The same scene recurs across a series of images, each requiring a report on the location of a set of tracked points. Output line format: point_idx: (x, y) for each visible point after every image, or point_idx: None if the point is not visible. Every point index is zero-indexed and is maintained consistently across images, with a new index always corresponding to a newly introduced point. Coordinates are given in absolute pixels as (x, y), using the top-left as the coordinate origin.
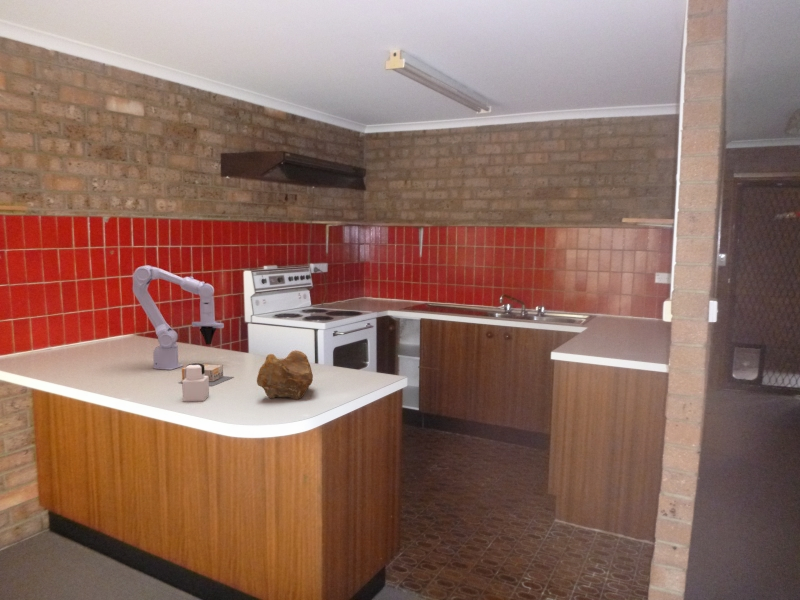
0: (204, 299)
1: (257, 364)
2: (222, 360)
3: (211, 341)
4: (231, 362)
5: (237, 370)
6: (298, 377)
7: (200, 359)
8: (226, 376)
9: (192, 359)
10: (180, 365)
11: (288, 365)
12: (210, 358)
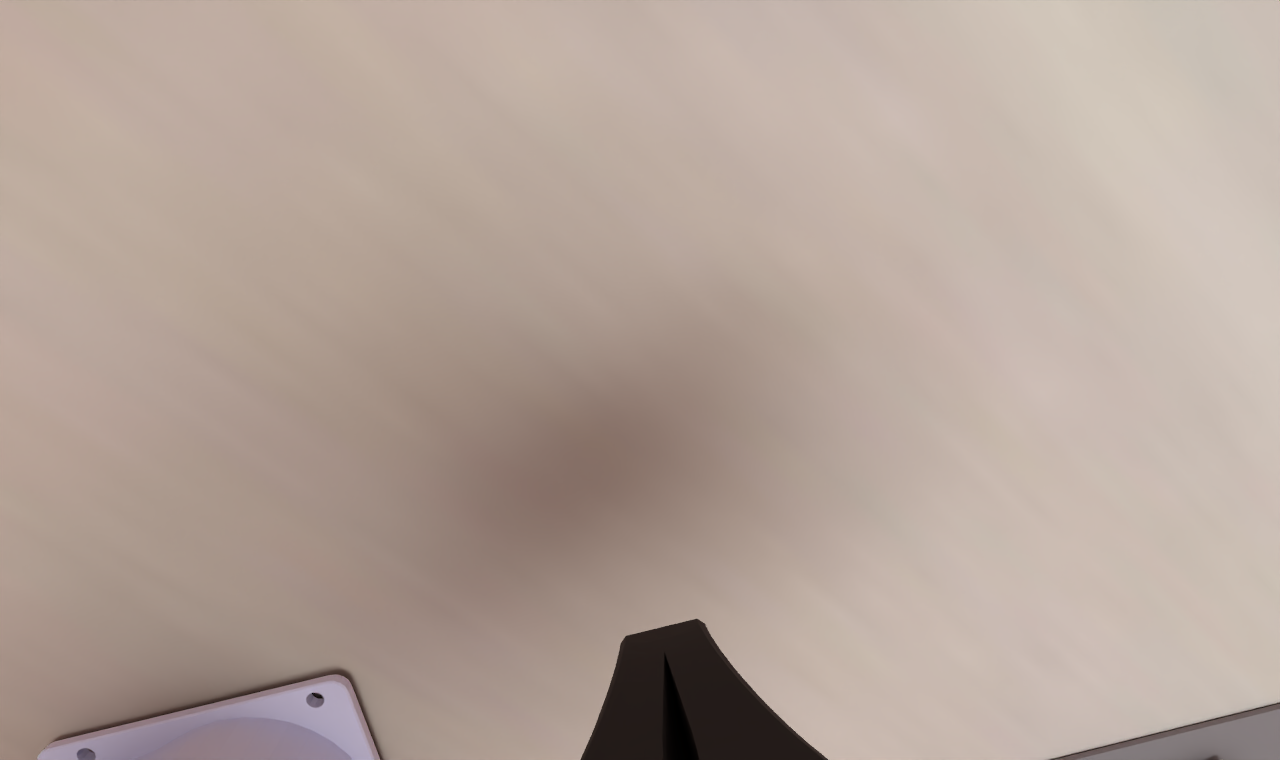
0: None
1: (1211, 17)
2: (503, 97)
3: (717, 655)
4: (748, 131)
5: (1159, 448)
6: None
7: (120, 242)
8: (1238, 725)
9: (10, 314)
10: (343, 722)
11: None
12: (186, 89)
